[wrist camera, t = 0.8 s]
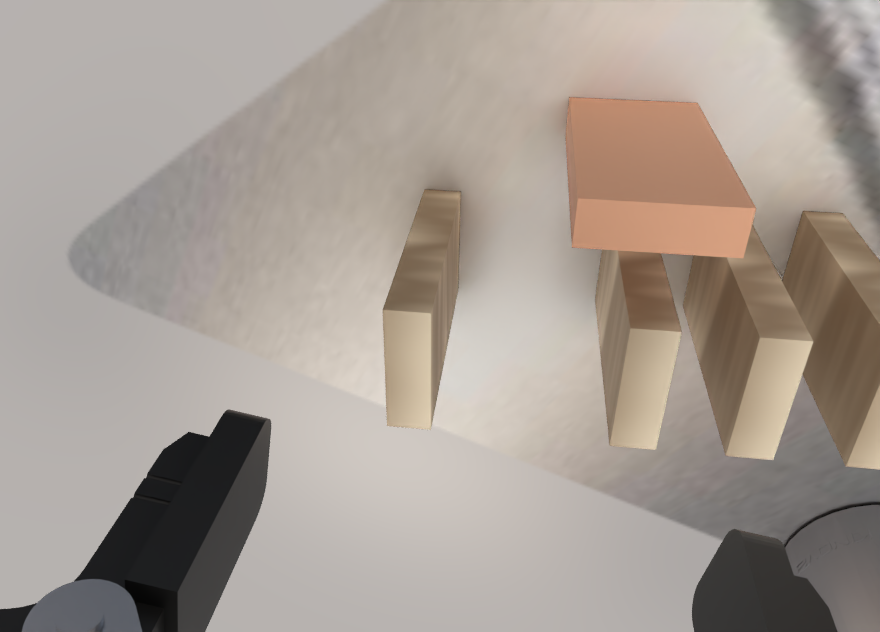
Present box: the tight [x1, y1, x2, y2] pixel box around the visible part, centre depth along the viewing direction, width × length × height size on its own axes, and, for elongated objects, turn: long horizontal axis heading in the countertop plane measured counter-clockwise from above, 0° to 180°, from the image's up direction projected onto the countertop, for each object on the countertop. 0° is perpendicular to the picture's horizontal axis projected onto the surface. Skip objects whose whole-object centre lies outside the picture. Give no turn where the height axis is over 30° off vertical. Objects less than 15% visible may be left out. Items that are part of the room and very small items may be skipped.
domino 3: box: [595, 249, 682, 450], centre depth 29 cm, size 2×5×10 cm, turn 179°
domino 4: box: [683, 225, 813, 460], centre depth 29 cm, size 2×5×10 cm, turn 0°
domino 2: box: [566, 97, 756, 258], centre depth 26 cm, size 2×5×10 cm, turn 89°
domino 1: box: [383, 190, 461, 430], centre depth 30 cm, size 2×5×10 cm, turn 179°
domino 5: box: [782, 211, 880, 469], centre depth 29 cm, size 2×5×10 cm, turn 179°
